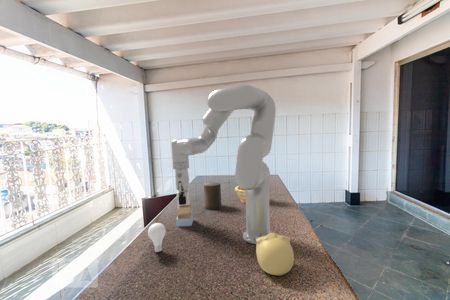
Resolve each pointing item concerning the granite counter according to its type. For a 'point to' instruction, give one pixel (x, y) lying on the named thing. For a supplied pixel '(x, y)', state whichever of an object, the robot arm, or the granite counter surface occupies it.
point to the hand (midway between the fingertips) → (183, 202)
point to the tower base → (184, 221)
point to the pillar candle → (212, 195)
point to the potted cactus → (240, 193)
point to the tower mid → (184, 211)
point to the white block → (186, 197)
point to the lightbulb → (157, 235)
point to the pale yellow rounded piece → (275, 254)
